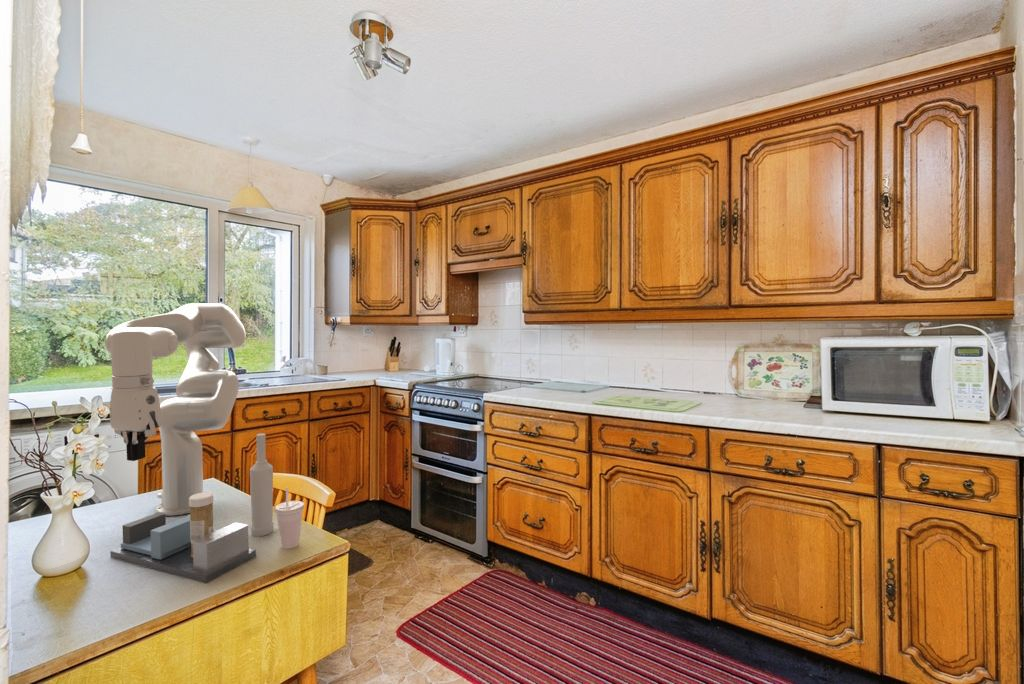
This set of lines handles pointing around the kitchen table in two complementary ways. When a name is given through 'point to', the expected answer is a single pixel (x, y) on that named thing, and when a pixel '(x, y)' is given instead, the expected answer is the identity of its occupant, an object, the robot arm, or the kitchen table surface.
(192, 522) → the spice jar
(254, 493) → the bottle
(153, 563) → the clamp base
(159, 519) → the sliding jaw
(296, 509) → the smoothie
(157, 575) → the kitchen table surface
